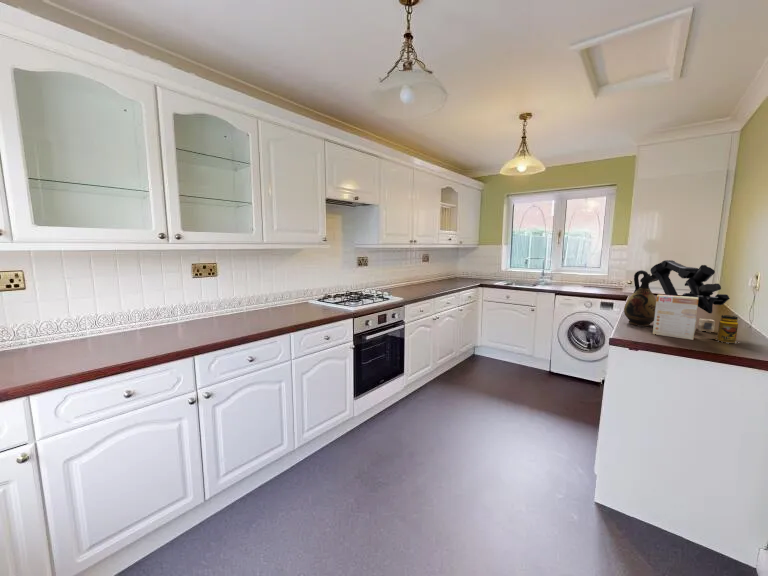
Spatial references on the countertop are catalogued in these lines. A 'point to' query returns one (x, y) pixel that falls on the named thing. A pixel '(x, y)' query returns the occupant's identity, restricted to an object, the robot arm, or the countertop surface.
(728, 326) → the condiment
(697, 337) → the countertop surface
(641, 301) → the ceramic jug
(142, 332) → the countertop surface
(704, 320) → the beech block
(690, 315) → the coffeecake box
